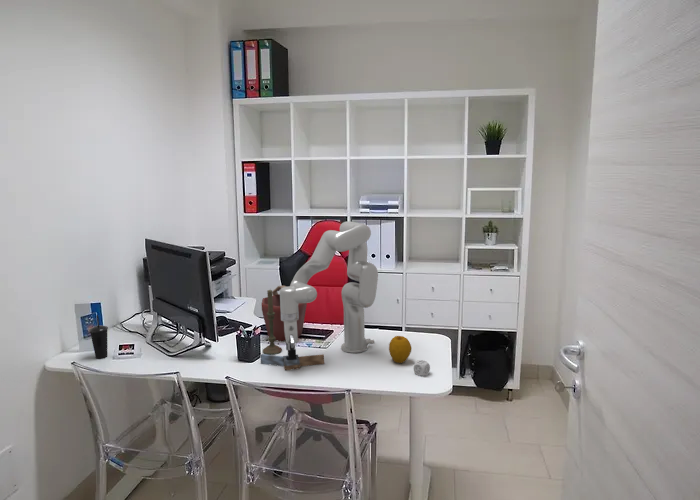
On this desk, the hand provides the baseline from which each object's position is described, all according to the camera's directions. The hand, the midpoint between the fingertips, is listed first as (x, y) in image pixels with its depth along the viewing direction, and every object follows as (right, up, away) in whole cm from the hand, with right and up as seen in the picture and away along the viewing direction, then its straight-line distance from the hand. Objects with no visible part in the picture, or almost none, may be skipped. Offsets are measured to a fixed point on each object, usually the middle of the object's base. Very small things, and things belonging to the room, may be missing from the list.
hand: (291, 354), depth 217 cm
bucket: (-7, +1, +40) cm, 40 cm away
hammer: (0, -5, +3) cm, 6 cm away
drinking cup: (-89, -5, +15) cm, 90 cm away
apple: (+47, -5, +5) cm, 48 cm away
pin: (0, -6, +1) cm, 6 cm away
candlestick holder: (-11, -3, +19) cm, 22 cm away
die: (+55, -7, -8) cm, 56 cm away
